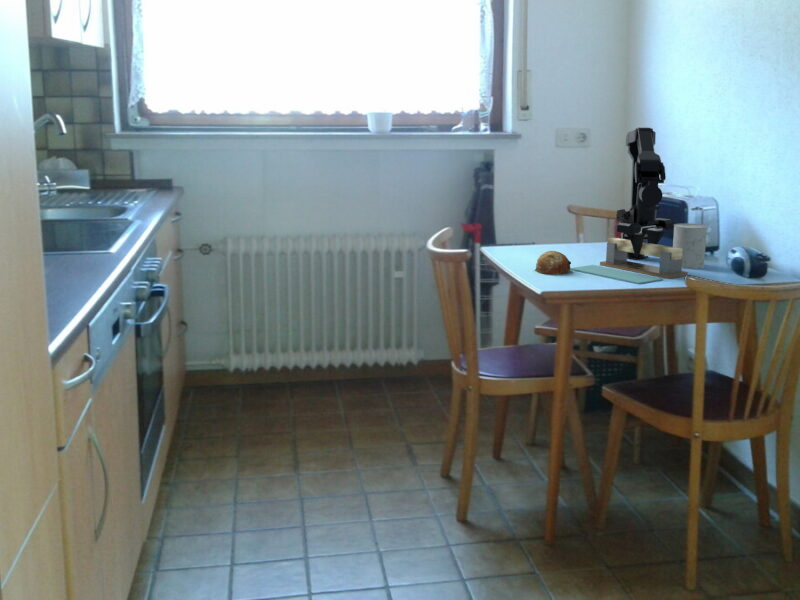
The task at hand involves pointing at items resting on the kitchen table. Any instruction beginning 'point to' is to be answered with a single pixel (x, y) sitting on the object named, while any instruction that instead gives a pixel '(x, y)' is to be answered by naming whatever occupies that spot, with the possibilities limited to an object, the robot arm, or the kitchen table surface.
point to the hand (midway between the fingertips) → (643, 255)
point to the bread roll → (553, 263)
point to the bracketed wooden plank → (665, 270)
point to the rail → (647, 248)
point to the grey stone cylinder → (691, 244)
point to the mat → (616, 274)
